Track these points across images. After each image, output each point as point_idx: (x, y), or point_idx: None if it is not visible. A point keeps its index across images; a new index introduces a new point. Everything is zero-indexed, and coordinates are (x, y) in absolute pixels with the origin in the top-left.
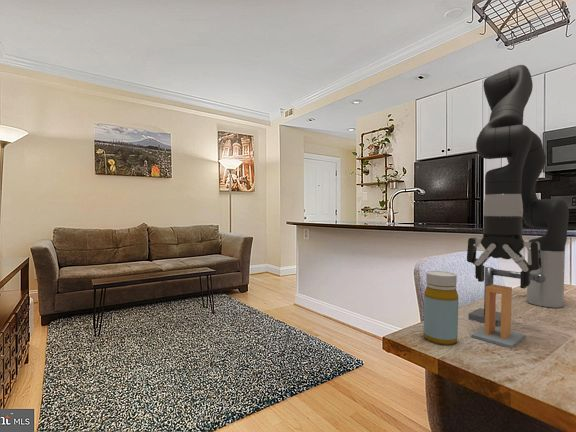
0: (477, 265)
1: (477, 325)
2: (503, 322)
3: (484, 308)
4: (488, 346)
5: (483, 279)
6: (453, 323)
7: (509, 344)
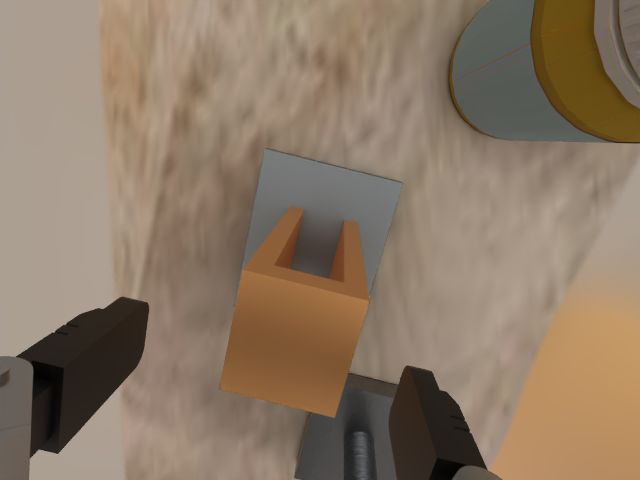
0: (478, 472)
1: (388, 336)
2: (286, 221)
3: (374, 456)
4: (338, 117)
5: (393, 413)
6: (493, 4)
7: (272, 157)
